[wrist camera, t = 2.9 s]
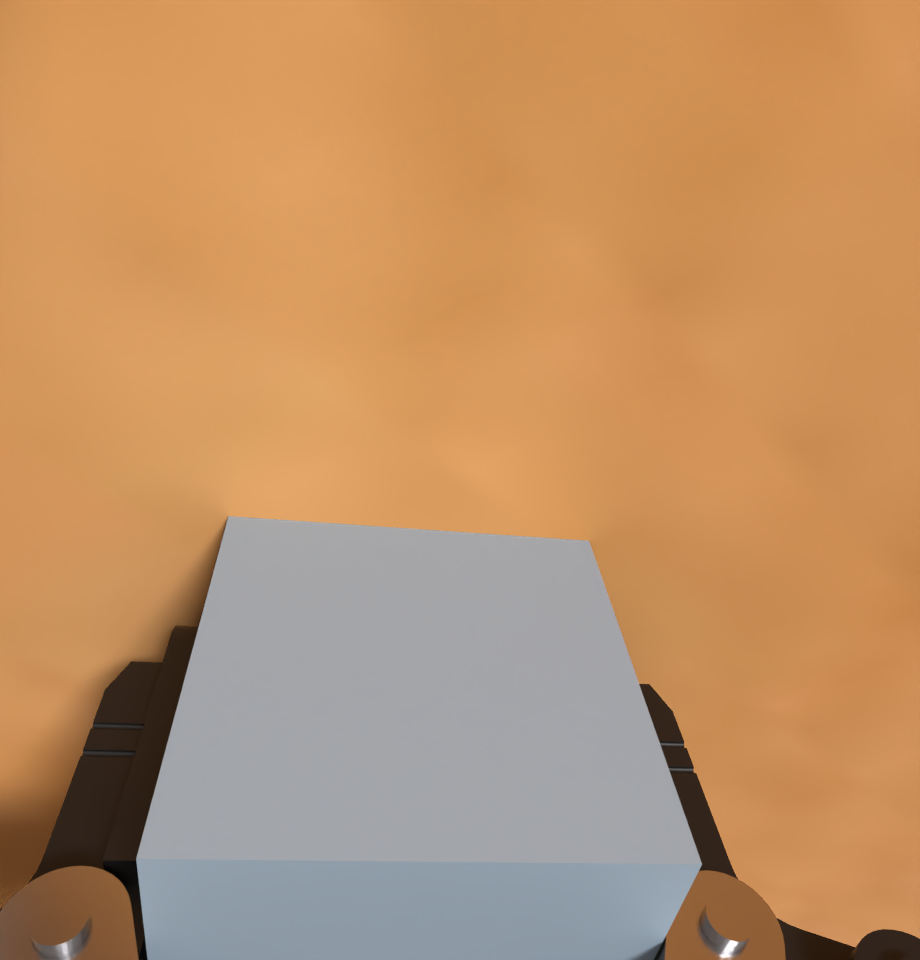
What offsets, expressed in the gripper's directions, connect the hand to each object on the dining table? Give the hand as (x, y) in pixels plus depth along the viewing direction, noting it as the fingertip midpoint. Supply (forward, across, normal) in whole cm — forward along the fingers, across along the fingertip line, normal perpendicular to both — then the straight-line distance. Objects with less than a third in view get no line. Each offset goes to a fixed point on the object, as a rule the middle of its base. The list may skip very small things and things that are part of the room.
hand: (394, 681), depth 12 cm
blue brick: (0, 0, 0) cm, 0 cm away
